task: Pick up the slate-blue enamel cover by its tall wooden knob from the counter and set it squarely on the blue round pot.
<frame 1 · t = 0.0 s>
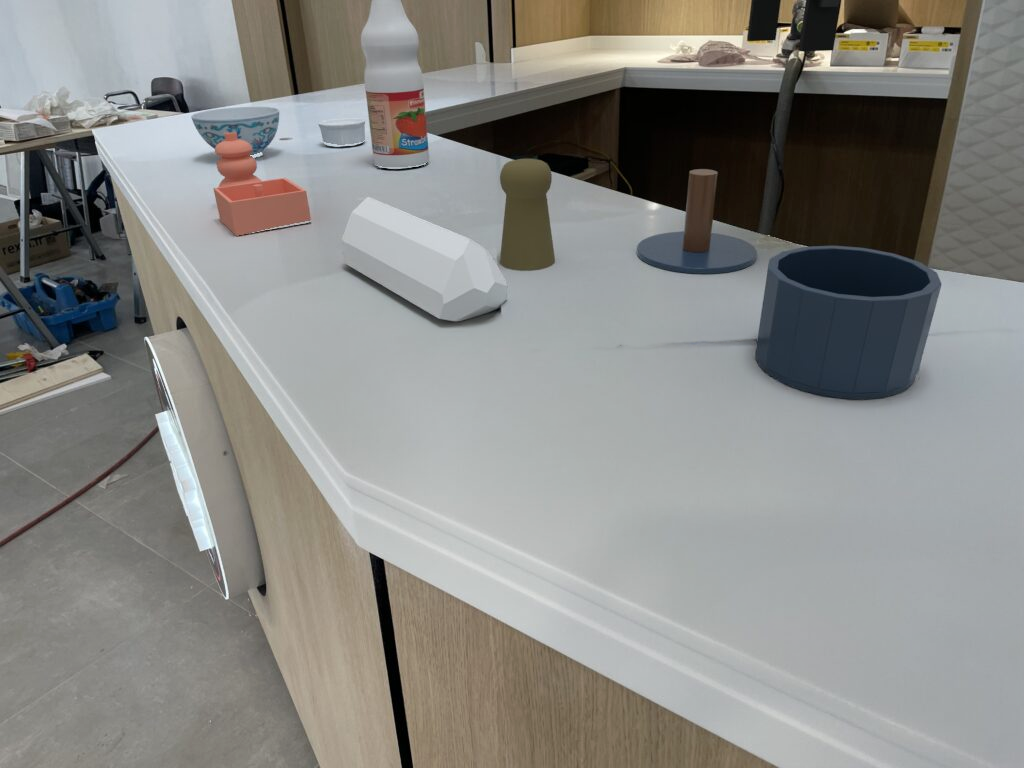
hand: (786, 45, 69), 21 cm above the counter, tool pointing down, fingers open, 13 cm apart
crystal: (420, 288, 73), on the counter
cover: (695, 253, 78), point 1 cm above the counter
pottery: (256, 215, 99), on the counter
cork: (527, 267, 78), on the counter
ramekin: (344, 145, 143), on the counter
chinaware: (244, 158, 134), on the counter
fruit juice: (402, 165, 125), on the counter
blue round pot: (832, 362, 56), on the counter
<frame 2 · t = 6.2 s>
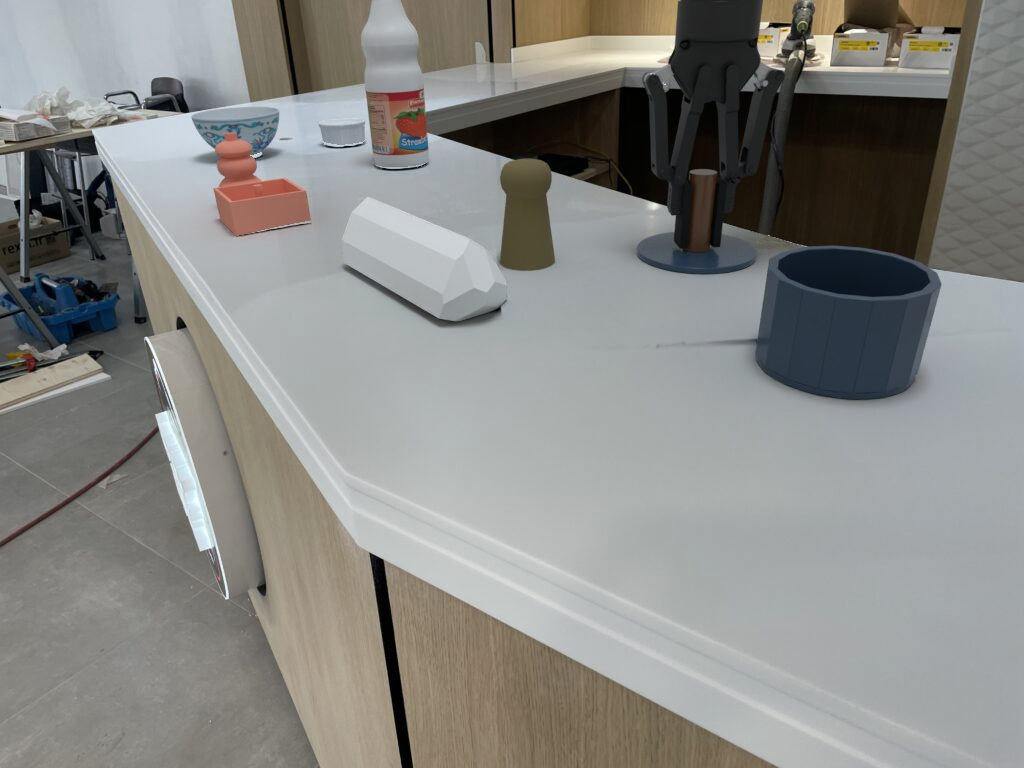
hand: (696, 243, 77), 2 cm above the counter, tool pointing down, fingers closed on cover, 3 cm apart
cover: (695, 253, 78), point 1 cm above the counter, touching gripper
everything else where it was.
when the fingers open (9 cm above the counter, at t = 13.3 s): cover stays where it is, resting on blue round pot.
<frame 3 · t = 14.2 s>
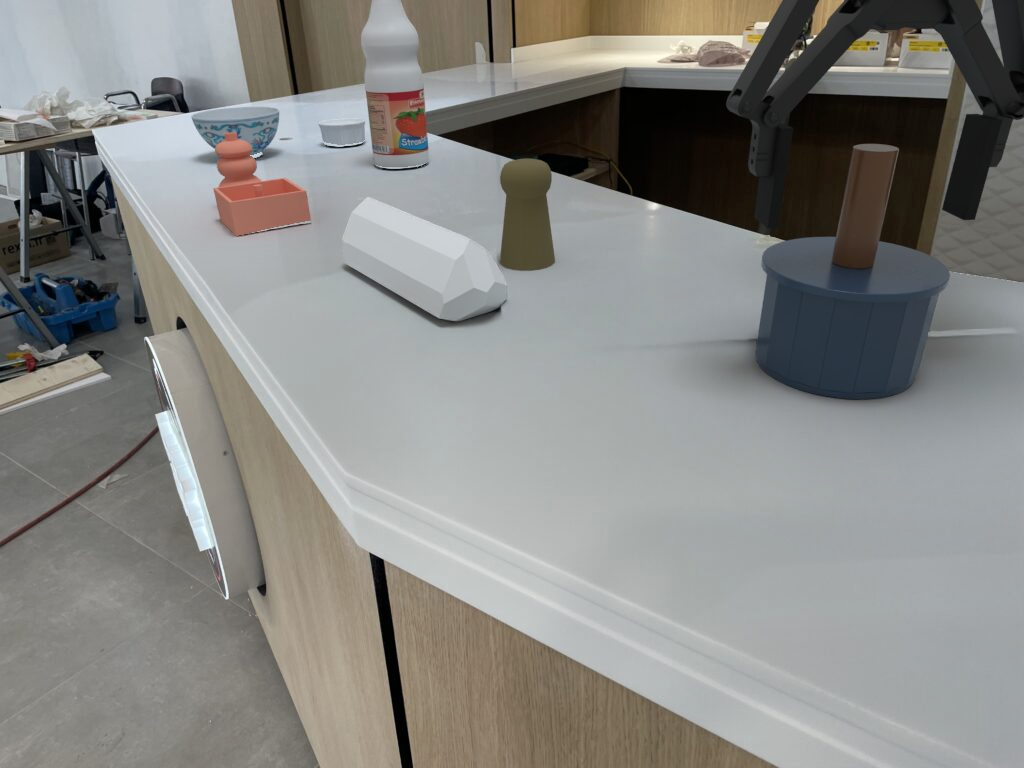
hand: (862, 219, 51), 11 cm above the counter, tool pointing down, fingers open, 13 cm apart
cover: (850, 270, 53), point 7 cm above the counter, touching blue round pot
everything else where it was.
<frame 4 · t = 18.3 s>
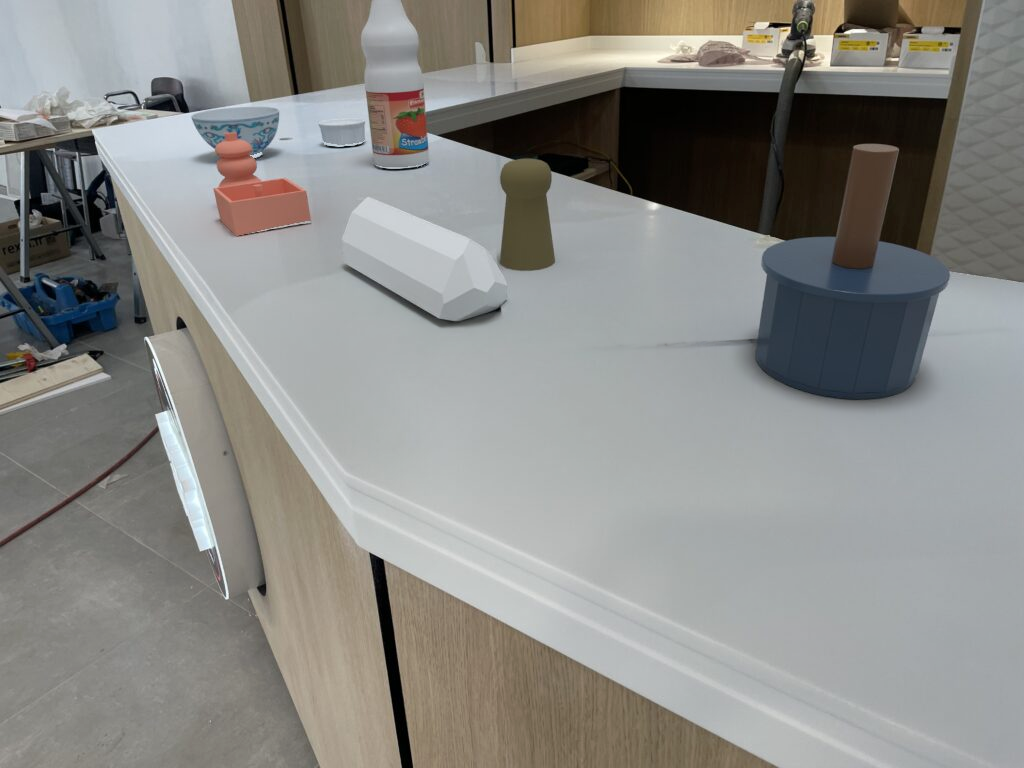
nothing on the counter moved.
at the end: cover 0.0 cm off-centre on the blue round pot, point 7.5 cm above the blue round pot's base; cover tilted 0° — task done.
